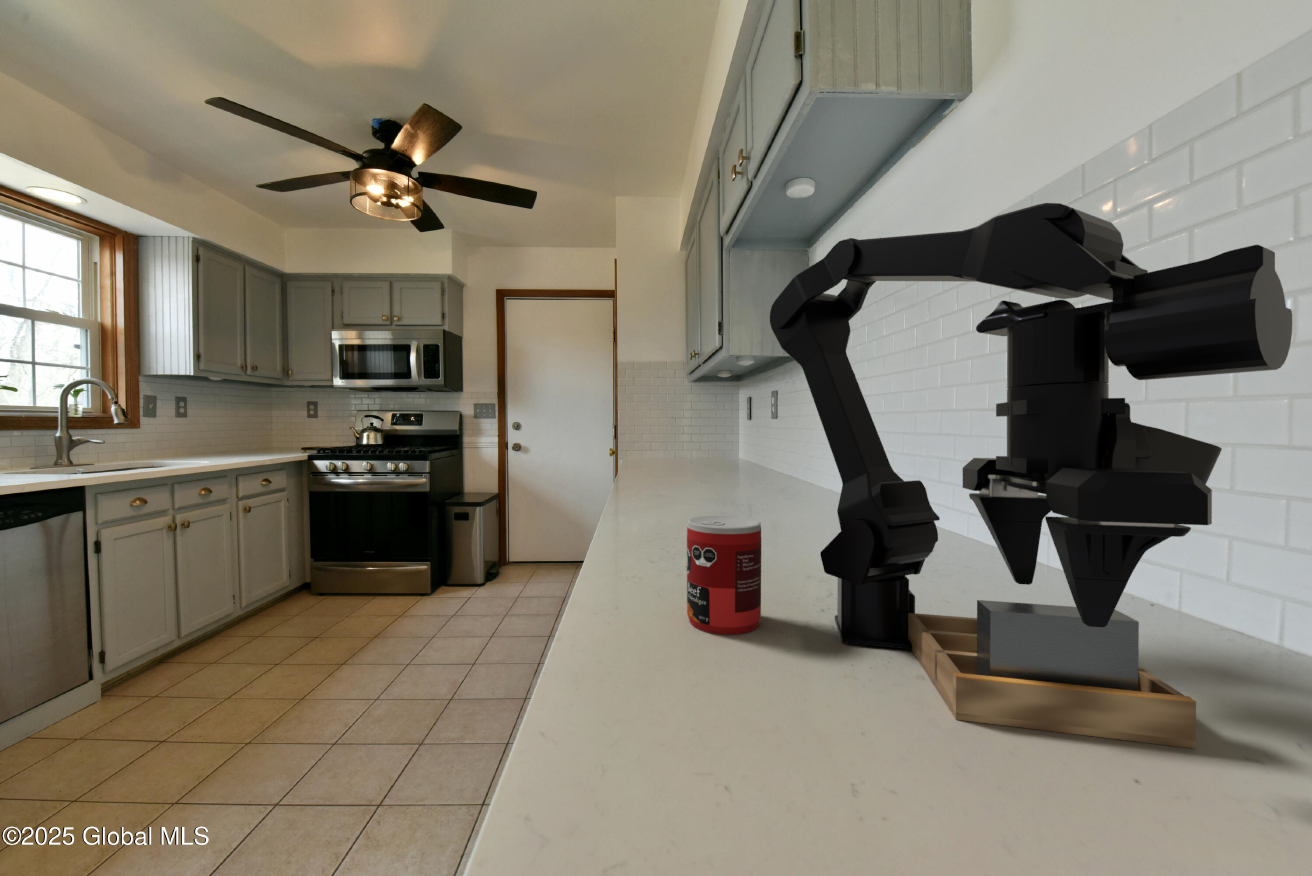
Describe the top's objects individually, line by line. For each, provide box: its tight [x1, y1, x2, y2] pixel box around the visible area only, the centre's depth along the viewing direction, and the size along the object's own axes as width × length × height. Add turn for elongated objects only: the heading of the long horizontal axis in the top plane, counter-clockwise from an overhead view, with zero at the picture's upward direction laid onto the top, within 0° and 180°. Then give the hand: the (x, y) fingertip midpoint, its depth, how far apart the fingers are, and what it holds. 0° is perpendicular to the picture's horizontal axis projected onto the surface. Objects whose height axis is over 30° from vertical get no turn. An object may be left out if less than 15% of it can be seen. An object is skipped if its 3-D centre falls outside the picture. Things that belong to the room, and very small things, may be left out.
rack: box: [908, 612, 1197, 749], centre depth 40 cm, size 14×13×3 cm
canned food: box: [686, 515, 762, 636], centre depth 54 cm, size 8×8×11 cm
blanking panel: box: [976, 599, 1140, 691], centre depth 36 cm, size 9×2×7 cm, turn 77°
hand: (1054, 602), depth 36 cm, fingers open, 9 cm apart
